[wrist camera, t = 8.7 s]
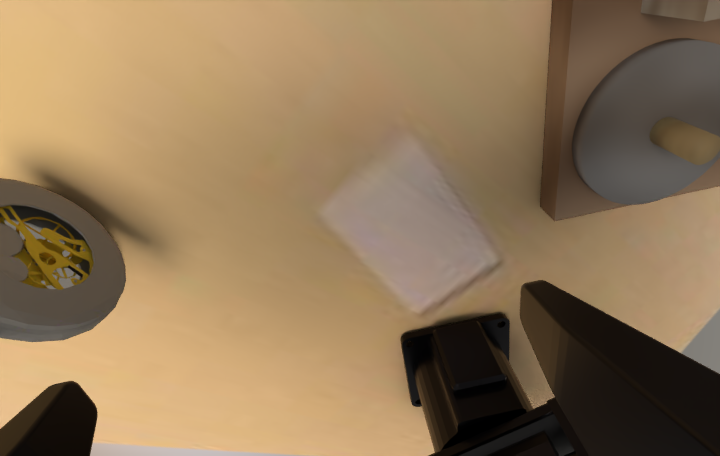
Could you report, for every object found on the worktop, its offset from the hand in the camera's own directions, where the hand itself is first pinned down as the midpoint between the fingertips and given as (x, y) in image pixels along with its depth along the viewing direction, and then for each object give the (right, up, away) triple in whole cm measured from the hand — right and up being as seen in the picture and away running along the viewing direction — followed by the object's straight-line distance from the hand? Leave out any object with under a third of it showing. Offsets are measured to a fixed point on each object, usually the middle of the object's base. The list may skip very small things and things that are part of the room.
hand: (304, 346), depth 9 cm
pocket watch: (-13, +2, +11) cm, 17 cm away
